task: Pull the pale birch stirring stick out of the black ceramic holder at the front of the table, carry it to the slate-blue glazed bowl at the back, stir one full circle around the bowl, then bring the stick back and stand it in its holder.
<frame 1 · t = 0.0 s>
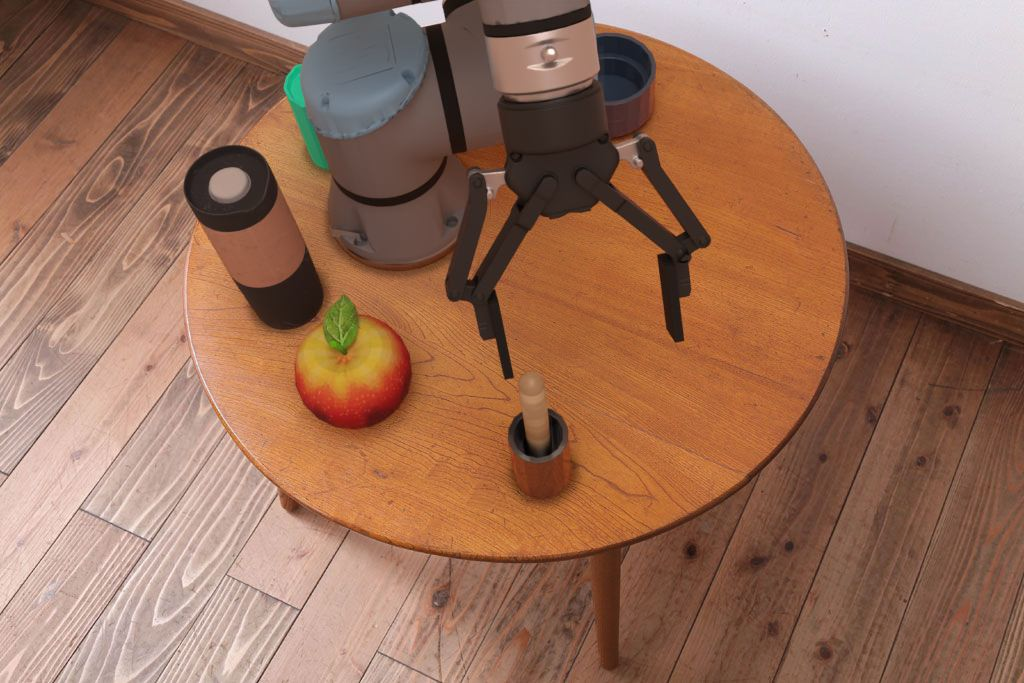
hand: (591, 353, 81), 15 cm above the table, tool tilted 35°, fingers open, 13 cm apart
bowl: (607, 106, 112), on the table
stick: (542, 470, 92), point 1 cm above the table, touching holder
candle: (336, 149, 112), on the table
travel mug: (289, 300, 104), on the table
fruit: (363, 392, 98), on the table
holder: (543, 473, 93), on the table
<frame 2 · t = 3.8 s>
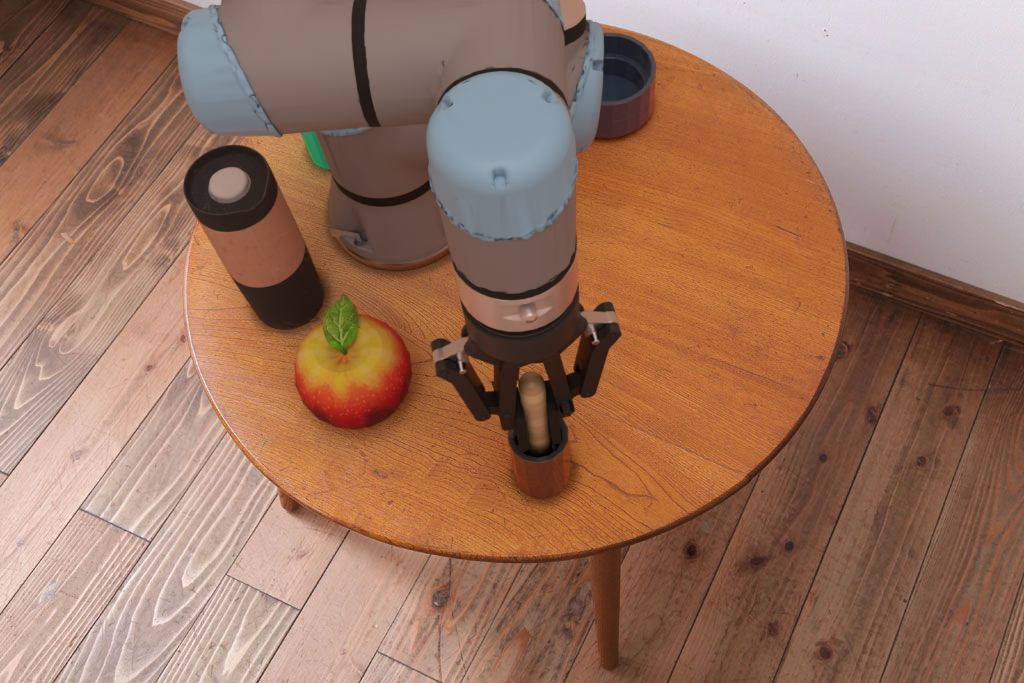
hand: (537, 432, 84), 9 cm above the table, tool pointing down, fingers closed on stick, 2 cm apart
stick: (542, 470, 92), point 1 cm above the table, touching gripper, holder
everything else where it was.
when the fingers open (9 cm above the table, at t = 21.6 s): stick stays where it is, resting on holder.
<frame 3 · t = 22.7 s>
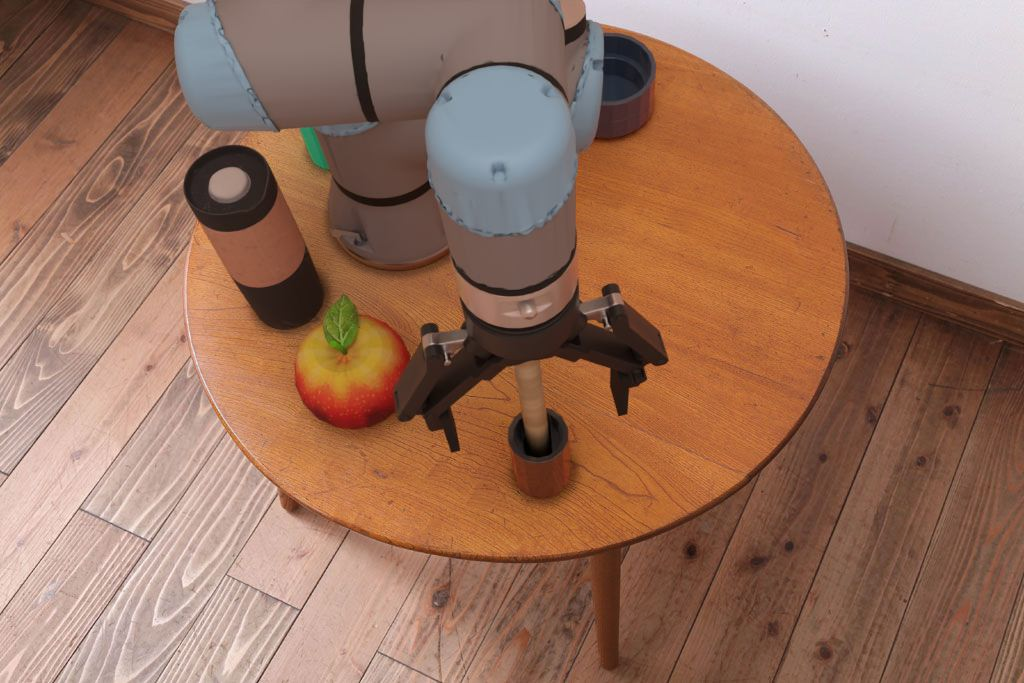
hand: (536, 418, 82), 12 cm above the table, tool pointing down, fingers open, 13 cm apart
stick: (543, 472, 92), point 1 cm above the table, tilted 8°, touching holder
everything else where it was.
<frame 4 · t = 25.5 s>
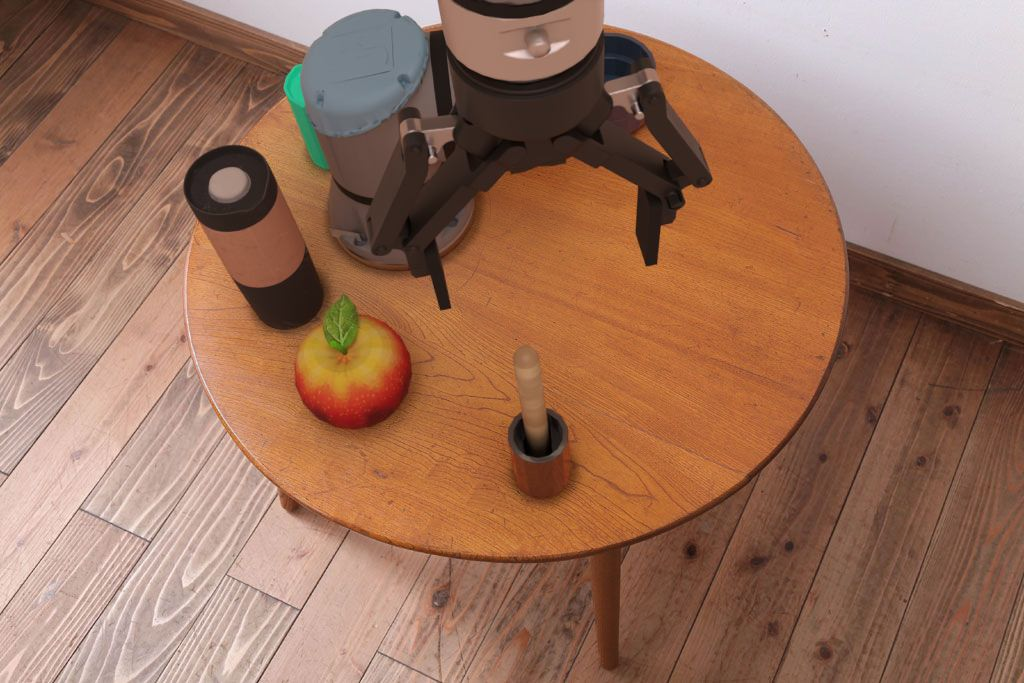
hand: (544, 270, 67), 31 cm above the table, tool pointing down, fingers open, 13 cm apart
nothing on the table moved.
at the end: stick 0.2 cm off-centre in the holder, point 0.6 cm above the holder's base; stick tilted 8°; the gripper is holding nothing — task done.
